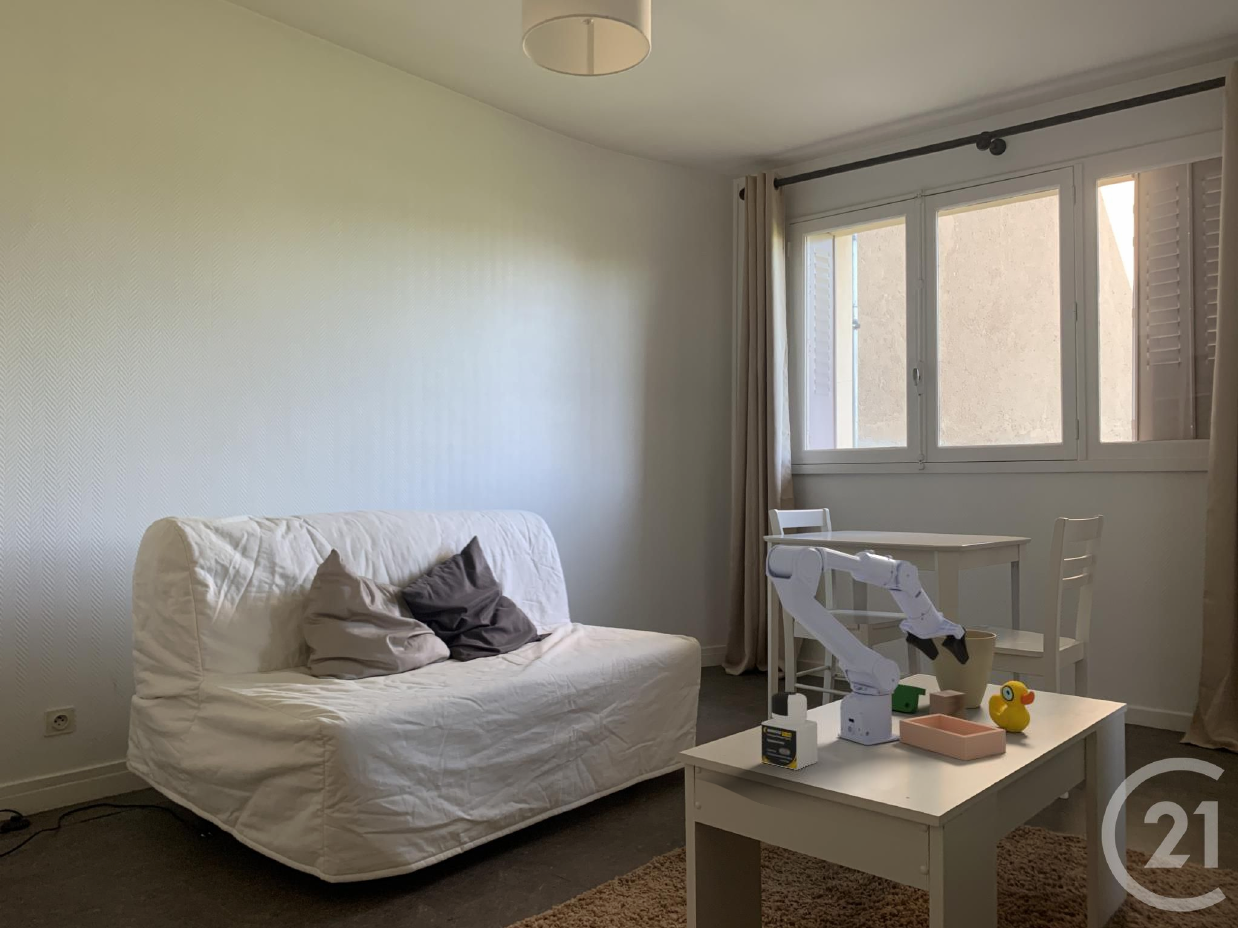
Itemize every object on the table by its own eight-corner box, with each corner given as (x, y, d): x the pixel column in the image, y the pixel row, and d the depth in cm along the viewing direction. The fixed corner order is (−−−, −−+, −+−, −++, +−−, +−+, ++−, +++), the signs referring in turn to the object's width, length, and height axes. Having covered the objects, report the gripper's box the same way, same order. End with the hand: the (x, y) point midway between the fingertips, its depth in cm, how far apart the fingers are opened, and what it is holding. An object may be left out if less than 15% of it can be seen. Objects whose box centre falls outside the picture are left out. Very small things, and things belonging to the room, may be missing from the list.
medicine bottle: (760, 763, 159) (760, 693, 160) (783, 754, 164) (782, 687, 165) (796, 771, 154) (795, 699, 155) (818, 762, 160) (817, 693, 160)
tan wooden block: (946, 732, 181) (945, 696, 181) (929, 727, 184) (929, 692, 185) (966, 728, 184) (965, 693, 184) (950, 724, 187) (949, 689, 188)
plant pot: (946, 694, 216) (945, 627, 217) (1009, 705, 205) (1007, 633, 206) (914, 704, 206) (913, 633, 207) (978, 715, 195) (977, 640, 196)
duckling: (1045, 737, 177) (1044, 684, 178) (1023, 739, 175) (1022, 686, 176) (1003, 723, 188) (1002, 674, 188) (981, 725, 186) (980, 676, 187)
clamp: (915, 730, 200) (934, 693, 200) (902, 727, 196) (922, 690, 196) (872, 700, 209) (891, 665, 209) (859, 697, 205) (877, 662, 204)
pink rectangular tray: (965, 760, 161) (964, 737, 161) (899, 741, 174) (899, 720, 174) (1005, 752, 166) (1005, 729, 167) (939, 733, 179) (939, 713, 179)
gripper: (957, 597, 178) (989, 648, 182) (901, 593, 191) (932, 641, 194) (939, 622, 175) (972, 673, 179) (883, 616, 188) (914, 665, 191)
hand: (950, 658), depth 186 cm, fingers open, 7 cm apart
